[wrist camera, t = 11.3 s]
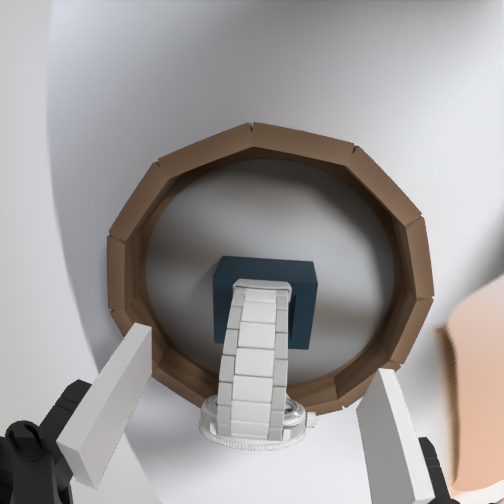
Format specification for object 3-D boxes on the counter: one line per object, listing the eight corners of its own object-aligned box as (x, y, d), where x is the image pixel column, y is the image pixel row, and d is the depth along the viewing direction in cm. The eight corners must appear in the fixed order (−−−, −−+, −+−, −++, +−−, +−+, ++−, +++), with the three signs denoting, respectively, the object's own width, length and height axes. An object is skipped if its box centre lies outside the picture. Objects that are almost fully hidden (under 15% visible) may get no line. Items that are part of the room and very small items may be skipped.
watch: (223, 339, 22) (186, 472, 12) (222, 227, 19) (159, 334, 9) (303, 345, 22) (310, 483, 11) (317, 233, 19) (353, 348, 9)
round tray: (142, 108, 18) (116, 106, 15) (446, 172, 18) (474, 181, 15) (130, 360, 25) (115, 386, 22) (357, 403, 25) (364, 432, 22)
